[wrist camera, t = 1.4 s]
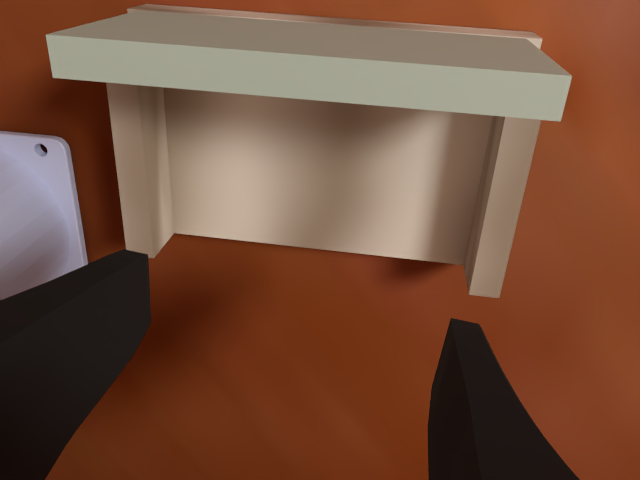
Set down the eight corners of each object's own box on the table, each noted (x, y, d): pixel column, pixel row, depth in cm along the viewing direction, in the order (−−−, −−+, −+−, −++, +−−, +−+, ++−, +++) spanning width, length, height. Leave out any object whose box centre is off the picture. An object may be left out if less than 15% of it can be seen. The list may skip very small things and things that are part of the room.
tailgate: (136, 42, 19) (45, 77, 14) (133, 9, 18) (37, 33, 14) (526, 73, 18) (569, 122, 13) (533, 39, 17) (581, 76, 12)
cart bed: (163, 214, 24) (126, 255, 20) (145, 4, 20) (97, 15, 17) (486, 248, 22) (499, 297, 19) (532, 31, 19) (557, 50, 16)
